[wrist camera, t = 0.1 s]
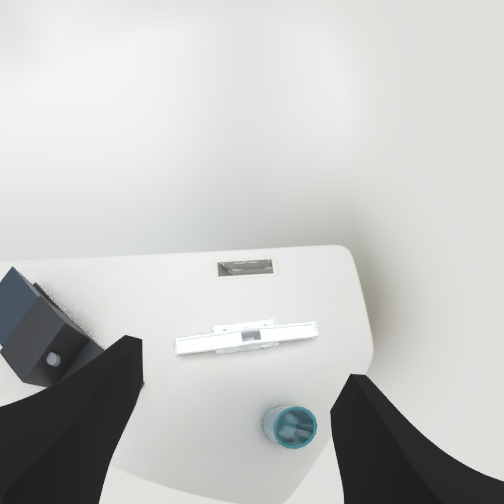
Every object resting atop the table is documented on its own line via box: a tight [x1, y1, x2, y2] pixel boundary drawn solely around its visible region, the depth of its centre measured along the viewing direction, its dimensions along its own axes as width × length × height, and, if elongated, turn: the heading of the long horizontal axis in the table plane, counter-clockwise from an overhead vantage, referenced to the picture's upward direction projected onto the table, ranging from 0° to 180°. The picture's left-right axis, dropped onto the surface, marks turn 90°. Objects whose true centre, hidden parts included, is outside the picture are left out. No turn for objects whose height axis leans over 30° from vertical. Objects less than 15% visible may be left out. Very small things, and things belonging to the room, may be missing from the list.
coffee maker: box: [0, 267, 144, 387], centre depth 32 cm, size 24×10×10 cm, turn 59°
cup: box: [262, 406, 317, 449], centre depth 34 cm, size 5×5×7 cm
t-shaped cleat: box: [174, 319, 319, 355], centre depth 40 cm, size 4×20×5 cm, turn 99°
